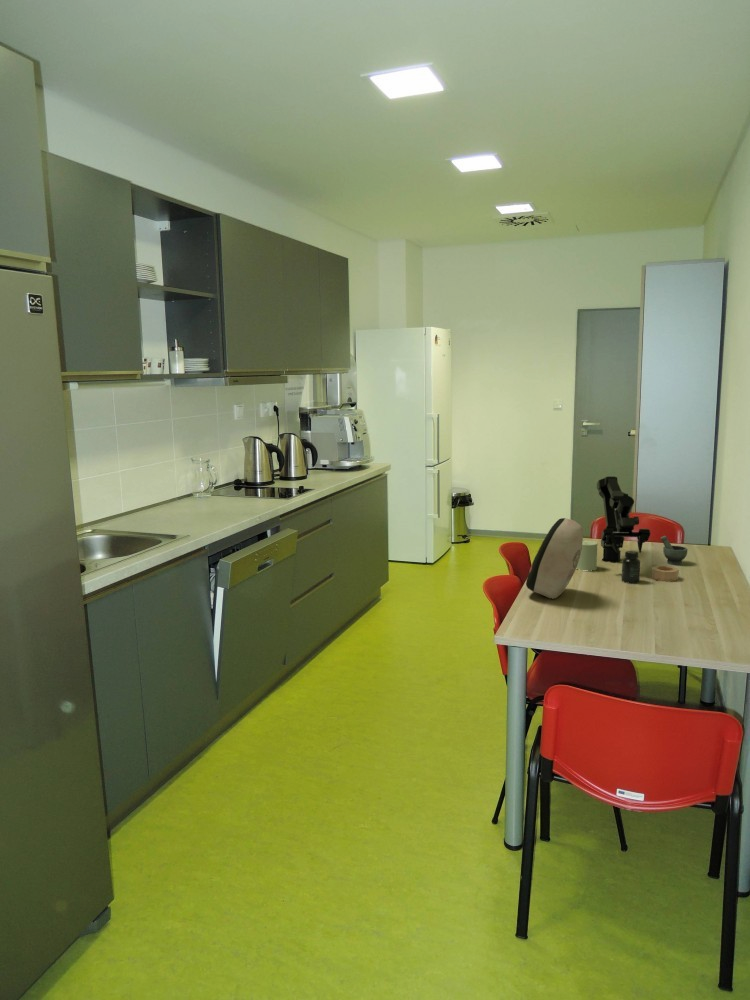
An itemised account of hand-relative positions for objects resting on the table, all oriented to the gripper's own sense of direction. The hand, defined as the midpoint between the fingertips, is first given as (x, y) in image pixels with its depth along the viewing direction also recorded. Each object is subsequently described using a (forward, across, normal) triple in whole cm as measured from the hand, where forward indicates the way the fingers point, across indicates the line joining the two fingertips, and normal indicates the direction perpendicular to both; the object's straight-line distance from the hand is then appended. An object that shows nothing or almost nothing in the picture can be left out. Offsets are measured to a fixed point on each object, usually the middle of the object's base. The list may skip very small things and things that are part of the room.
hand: (628, 552), depth 293 cm
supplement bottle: (+11, 0, +5) cm, 12 cm away
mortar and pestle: (-10, +26, +26) cm, 38 cm away
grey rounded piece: (+25, -33, -9) cm, 43 cm away
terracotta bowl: (+8, +15, +8) cm, 18 cm away
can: (-3, -14, +18) cm, 23 cm away
